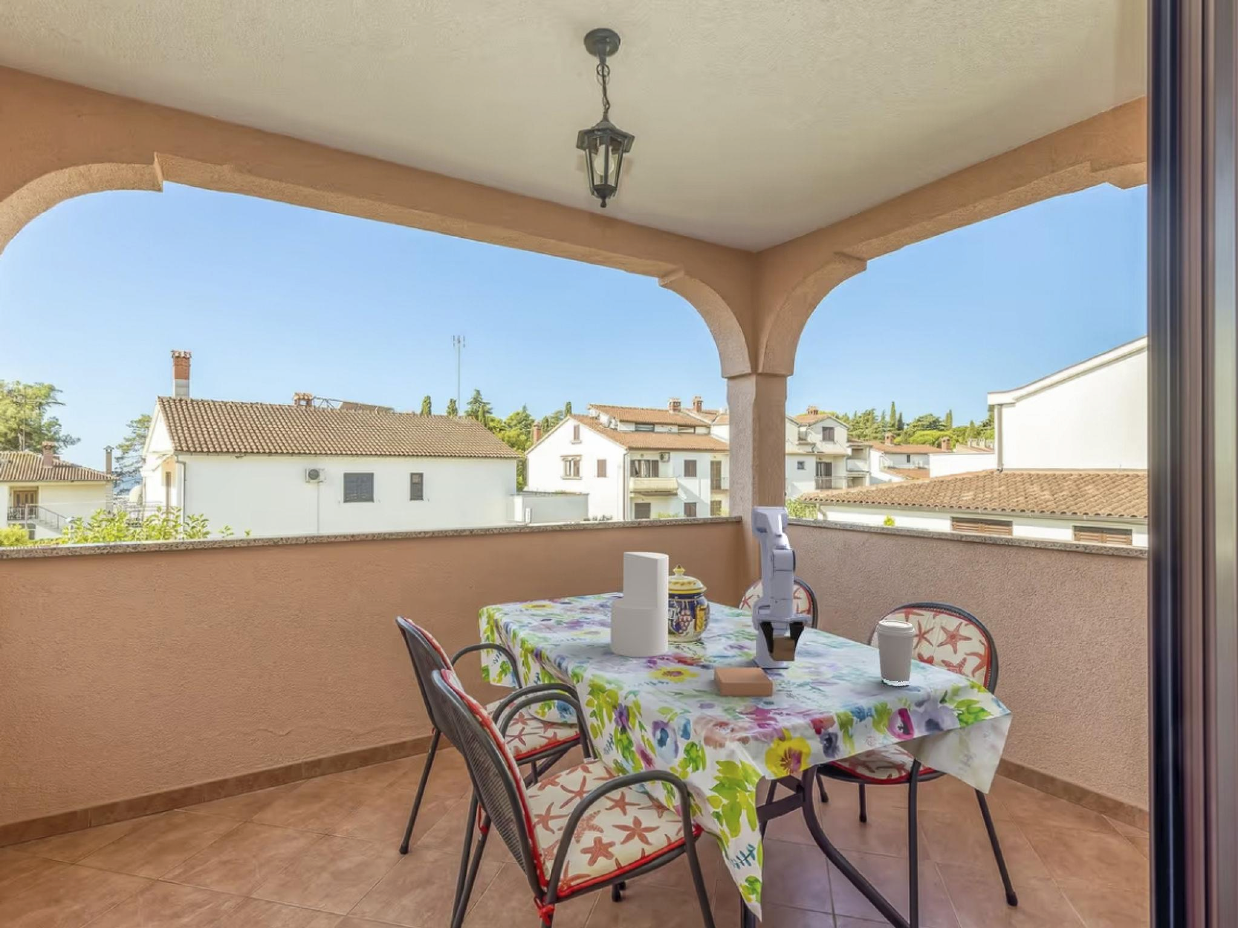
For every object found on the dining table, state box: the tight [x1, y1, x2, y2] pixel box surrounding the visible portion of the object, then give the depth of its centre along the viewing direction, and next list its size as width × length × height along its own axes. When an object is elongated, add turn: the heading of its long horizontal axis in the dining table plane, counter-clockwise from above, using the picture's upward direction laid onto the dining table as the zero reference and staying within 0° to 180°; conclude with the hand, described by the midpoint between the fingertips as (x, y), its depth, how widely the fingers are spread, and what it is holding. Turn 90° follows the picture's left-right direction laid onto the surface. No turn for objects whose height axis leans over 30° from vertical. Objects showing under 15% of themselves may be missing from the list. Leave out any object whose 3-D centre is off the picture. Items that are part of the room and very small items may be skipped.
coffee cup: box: [874, 619, 917, 682], centre depth 164 cm, size 10×10×15 cm
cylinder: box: [609, 551, 670, 658], centre depth 193 cm, size 17×17×28 cm
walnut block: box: [769, 635, 796, 662], centre depth 160 cm, size 5×5×5 cm
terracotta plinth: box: [713, 666, 774, 697], centre depth 159 cm, size 12×12×3 cm
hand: (781, 651), depth 160 cm, fingers closed on walnut block, 5 cm apart
